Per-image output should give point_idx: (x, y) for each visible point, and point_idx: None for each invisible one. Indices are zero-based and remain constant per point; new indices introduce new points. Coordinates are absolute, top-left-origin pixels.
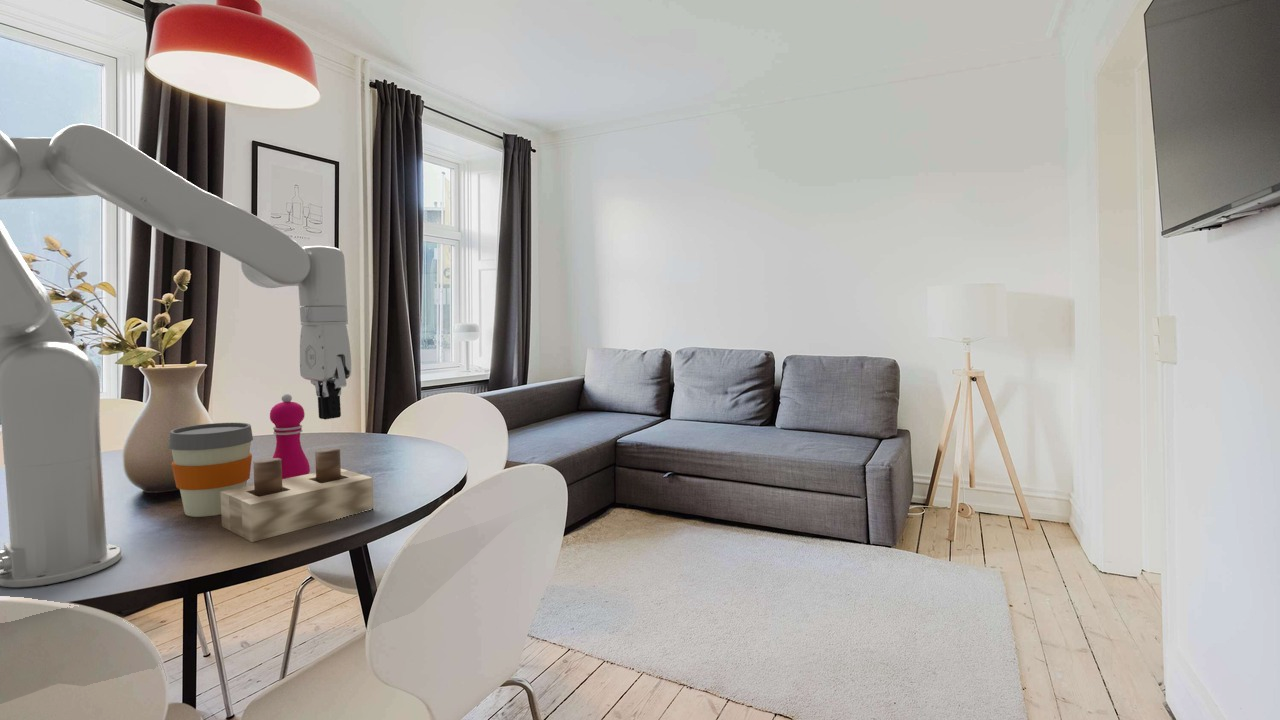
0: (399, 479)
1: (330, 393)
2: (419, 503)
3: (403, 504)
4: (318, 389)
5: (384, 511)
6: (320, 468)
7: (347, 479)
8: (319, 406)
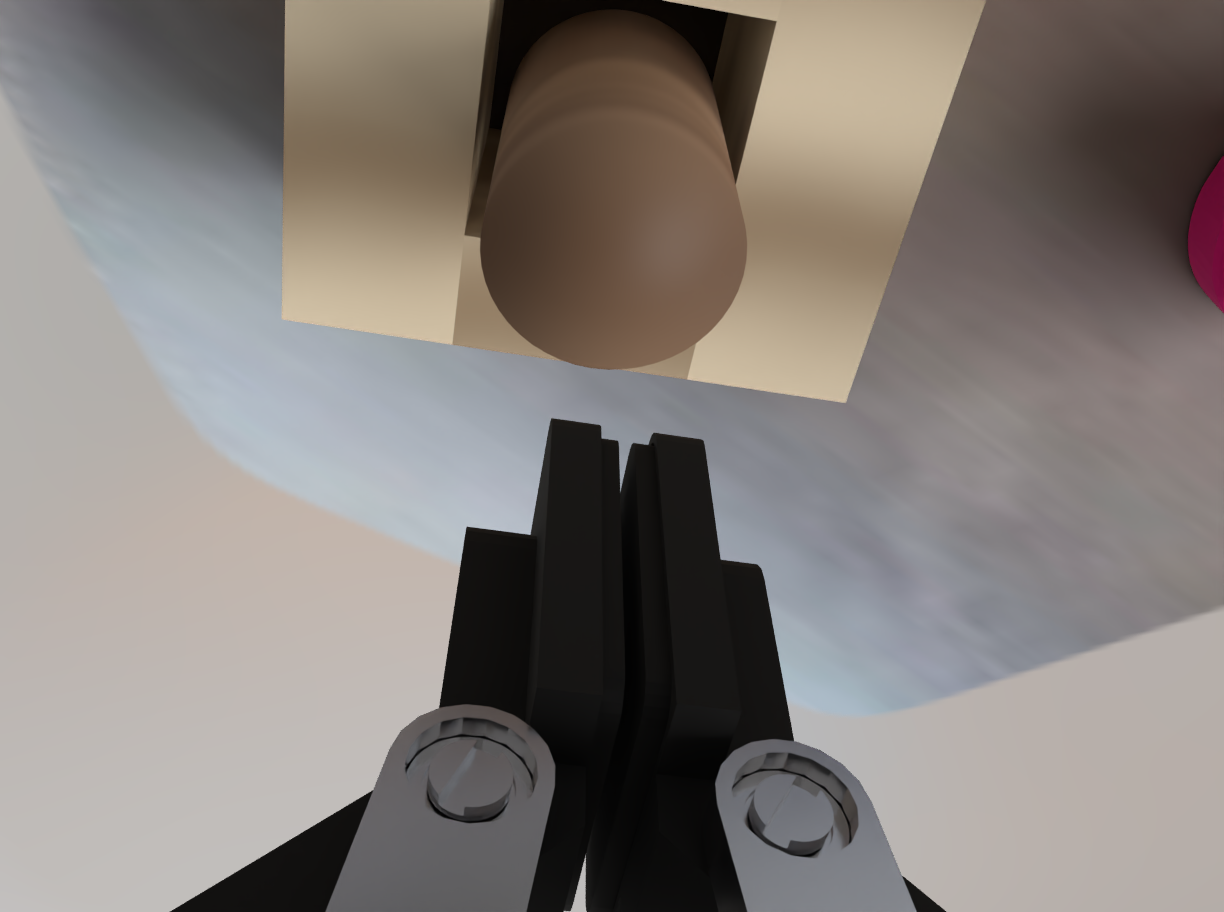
0: (786, 684)
1: (329, 827)
2: (210, 423)
3: (278, 368)
4: (762, 884)
5: (239, 212)
6: (577, 67)
7: (411, 183)
8: (665, 559)
